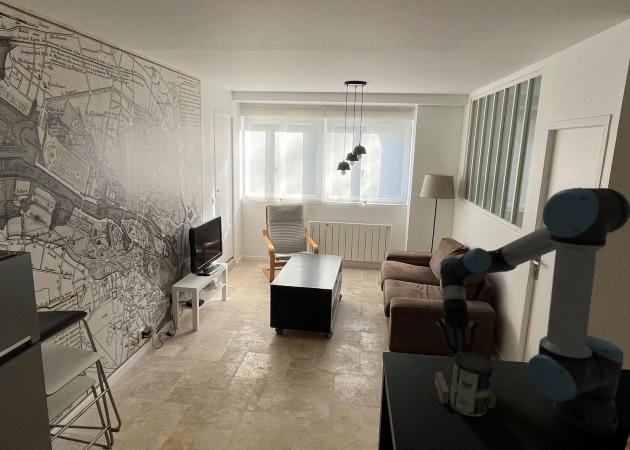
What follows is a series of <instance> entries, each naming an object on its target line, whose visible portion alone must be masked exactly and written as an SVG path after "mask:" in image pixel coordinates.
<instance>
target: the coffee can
mask: <svg viewBox="0 0 630 450" xmlns="http://www.w3.org/2000/svg"><path fill="white" fill-rule="evenodd" d="M460 352H461V351H460ZM454 360H455V362H454ZM452 370H453V371H452V377H451V378H452V380H451V385H450V386H451V387H450V393H449V399H448V402H449V405H450V406H451V407H452V409H454V410H455V411H456V412H458V413H460V414H462V415H466V416H468V417H481V416H484V415H485V414H486V413H487V409H488V406H487V402H488V395H489V388H490V386H491V380H492V374H493V370H494V364H493V362H492V360H490V359H489V358H487V357H486V356H484V355H482V354H479V353H476V352H472V351H471V352H461V353H458V354H456V355H455V357H454V359H453V369H452Z"/></svg>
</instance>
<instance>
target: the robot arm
mask: <svg viewBox="0 0 630 450" xmlns="http://www.w3.org/2000/svg"><path fill="white" fill-rule="evenodd" d="M629 219H630V202H629V201H628V199H627V197H625V196H624V194H623V193H621V192H619V191H617V190H615V189H612V188H608V187H572V188H567V189H563V190H559V191H558V192H555V193H554V194H553V195H552V196H550V198H549V199H548V200H547V202H546V203H545V204H544V207H543V210H542V221H543V222H542V223H543V224H544V226H542V227H541V228H538V229H536V230H534V231H532V232H529V233H528V234H526V235H523V236H522V237H521V236H520V237H519V238H518V239H515V240H514V241H511V242H509V243H507V244H505V245H504V246H501V247H499V248H497V249H493V250H486V249H483V248H482V247H475V248H473V249H471V250H469V251H467V252H466V253H464V254H463V255H461V256H460V257H459V258H458V257H453V256H451V257H448V258H443V259H442V260H441V261H440V263H439V264H440V265H439V267H440V270H439V274H440V281H441V291H442V302H443V303H442V309H443V315H442V318H440V319H437V320H436V326H437V327H438V328H439V332H440V333H441V337H442V340H443V342H444V347H445V350H446V351H447V352H450V353H451V354H452V355H453V356H452V357H453V363H454V362H455V360H454V357H455V355H456V354H458V353H461V352H471V353H472V351H473V349H474V342H475V335H476V334H475V333H476V329H477V327H478V325H479V324H478V322H476V321H473V320H471V317H470V316H469V310H468V303H467V294H466V293H467V292H466V286H465V285H466V284H465V282H467V281H470V279H471V278H474V277H476V276H481V275H488V274H494V273H495V274H496V273H506V272H511V271H514V270H515V269H516V268H517V266H520V265H522V264H525V263H527V262H530V261H532V260H535V259H537V258H539V257H542V256H545V255H547V254H549V253H552V252H554V251H555V253H554V266H553V272H552V273H553V275H552V284H551V293H550V303H549V311H548V313H549V314H548V322H547V331H546V332H547V333H546V336H543V337H542V338H540V340H539V344H538V352H537V354H535V355H533V356H532V357H531V358H530V359H529V361H528V362H527V374H528V377H529V380H530V382H531V383H532V384H533V386H534V388H535V389H536V390H537V391H538V392H539V394H541V395H543V396H544V397H545V398H547V399H549V400H551V401H553V404H552V408H553V411H554V413H555V414H556V415H557V416H558V417H559V418H560V419H561V420H562V421H563V422H565V423H566V424H568V425H570V426H571V427H573V428H575V429H578V430H580V431H582V432H585V433H589V434H592V435H598V436H608V435H612V434H614V433H615V432H616V431H617V428H618V423H619V422H618V420H619V419H618V414H617V410H616V403H615V397H616V393H617V389H618V385H619V380H620V376H621V373H622V368H623V365H624V352H623V350H622V349H621V348H620V347H618V346H617V345H615V344H614V343H612V342H609V341H607V340H604V339H602V338H598V337H595V336H592V335H588V328H589V321H590V313H591V312H590V311H591V303H592V293H593V288H594V287H593V286H594V278H595V270H596V263H597V262H596V261H597V253H598V251H600V250H601V249H602V248H605V246H606V242H607V235H608V234H610V233H614V232H616V231H618V230H620V229H621V228H623V227H624V226H625V225H626V224H627V222H628V221H629ZM446 325H447V326H448V328H449V333H450V336H449V333H448V331H447V326H446ZM467 325H468V328H469V332H468V337H467V340H466V327H467ZM458 338H459V341H458ZM458 342H459V343H458ZM459 349H460V351H459Z"/></svg>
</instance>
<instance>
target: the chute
mask: <svg viewBox="0 0 630 450" xmlns="http://www.w3.org/2000/svg"><path fill="white" fill-rule="evenodd" d="M434 385H435V388H436V391H437V393H438V396H439V399H440V401H441V404H442V405H443V404H444V405H448V404H449V398H450V390H449V388H448V386H447V382H446V380H445V378H444V375H443V373H442V372H440V371H436V372H435V379H434ZM496 399H497V395H496V393H495V392H494V390H493V388H492V386H491V385H490V388H489V395H488V402H487V409H488V408H489V409H495V408H496Z"/></svg>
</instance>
